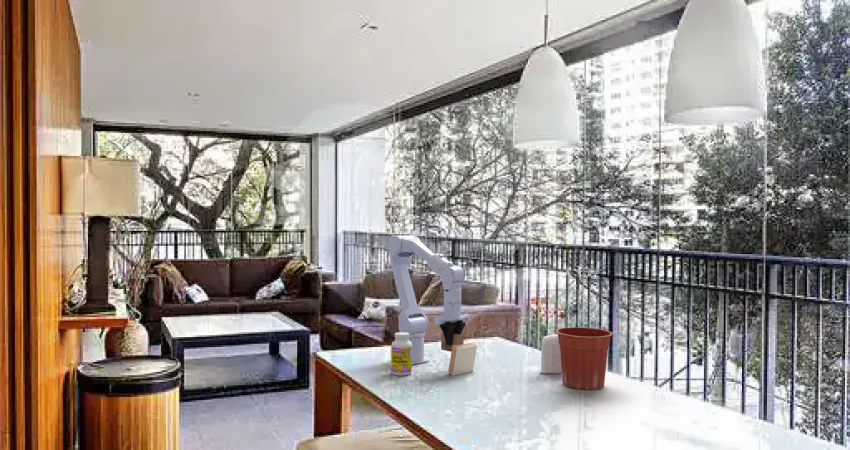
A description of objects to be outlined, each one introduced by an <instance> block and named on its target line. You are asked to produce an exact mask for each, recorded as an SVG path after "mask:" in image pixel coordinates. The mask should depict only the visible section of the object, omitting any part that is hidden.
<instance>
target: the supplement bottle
mask: <svg viewBox="0 0 850 450" xmlns="http://www.w3.org/2000/svg"><path fill="white" fill-rule="evenodd" d="M394 339H395V340H394V341H392V342H391V346H390V347H391V348H390V349H391V350H390V373H391V374H392V375H394V376H400V377H404V376H409V375H411V374H412V371H413V364H412V343H411V342H410V341H409V333H406V332H400V331H399V332H395V333H394Z"/></svg>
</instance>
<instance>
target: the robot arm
mask: <svg viewBox="0 0 850 450" xmlns="http://www.w3.org/2000/svg"><path fill="white" fill-rule="evenodd" d="M387 249H388V254H389V255H388V256H389V258H390V265H391V266H390V267H391V270H392V274H393V277H394V281H395V285H396V286H395V287H396V290H397V293H398V298H399V302H400V307H401V309H402V310H401V311H400V313H399V314H398V315H397V319H398V326H397V327H398V331H399V332H406V333H409V341H410V342H411V343H412V365H417V364H422V363H427V362H430V360H429V359H426V358H425V336H426V334H427V332H428V330H429V328H430V323H429V319H428V317H427V316H426V314H425V311H424V310H423V309H422V308H421V307H419V306H418V303H417V299H416V294H415V291H414V287H413V283H412V280H411V275H410V272H409V268H408V267H409V266H408V265H407V264H408V262H409V260H410V259H412V258H413V256H414V255H417V257H420V258H421V259H423V260H424V261H425V262H427V266H428V268H429V269H431V270H432V271H433V272H434V273H435V274H437V275H438V276H439V278H440V281H441V283H442V288H443V315H442V316H439V317H434V319H433V321H434V322H433V324H434V325H438V326H439V328H440V330H441V333H443V334H444V337H445V341H446V345H450V346H451V345H452V342H453V333H455V334H461V335H462V332H463V330H464V328H465V327H466V324H467V323H466V322H465V321H468V322H469V321H471V314H469V313H465V314H462V283H463V282H464V281H465V278H466V271H465V270H464V267H463V266H461V265H460V264H459V265H455V264H454V262H452V261H449V260H448V259H447V258H446V257H445V255H444V254H443V253H433V252H432V250H430V249H429V248H428V247H427V246H426V245H425V244H424V243H422V241H421V239H420V238H419V237H417V236H416V235H414V234H411V235H410V234H409V235H408V234H407V235H397V234H396V235H394V234H393V235H392V236H391V237H390V238H389V240H388V242H387Z"/></svg>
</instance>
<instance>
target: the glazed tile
mask: <svg viewBox="0 0 850 450" xmlns="http://www.w3.org/2000/svg"><path fill="white" fill-rule="evenodd" d="M477 351H478V345H477V344H476V343H474V342H468V343H467V342H466V343H464V344H461V345H455V346H452V351H451V352H450V359H449V365H448V370H447V373H448V374H450V375H452V376H457V375H462V374H466V372H467V373H472V372H474V367H475V361H476V356H477Z"/></svg>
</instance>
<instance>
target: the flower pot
mask: <svg viewBox="0 0 850 450" xmlns="http://www.w3.org/2000/svg"><path fill="white" fill-rule="evenodd" d="M555 333H556V334H558V342H559V345H560V354H561V366H562V373H561V377H562V380H561V381H562V384H563V385H564V386H566V387H567V388H570V389H577V390H582V389H586V390H589V391H592V390H601V389H602V388H605V381H606V371H607V364H608V363H607V362H608V353H609V348H610V345H611V337H612V336H613V332H612V331H609V330H606V329H602V328H594V327H582V326H579V327H578V326H574V327H573V326H570V327H560V328H557V329H556V330H555Z"/></svg>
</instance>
